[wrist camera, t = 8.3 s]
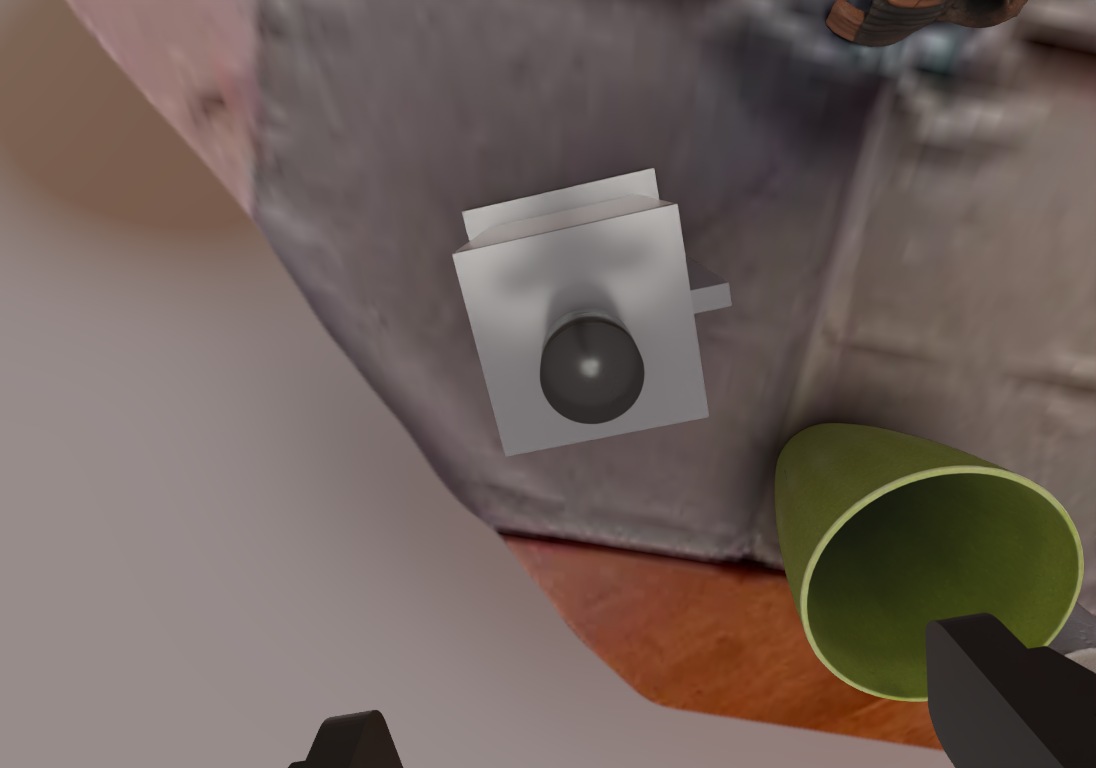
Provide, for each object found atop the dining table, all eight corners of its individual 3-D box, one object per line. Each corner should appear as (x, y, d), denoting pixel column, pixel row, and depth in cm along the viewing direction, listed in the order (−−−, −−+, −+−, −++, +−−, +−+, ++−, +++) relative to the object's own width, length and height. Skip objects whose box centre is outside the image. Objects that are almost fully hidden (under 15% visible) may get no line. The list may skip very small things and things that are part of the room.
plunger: (504, 243, 41) (463, 295, 23) (625, 216, 40) (680, 248, 22) (532, 358, 43) (514, 487, 25) (646, 335, 43) (710, 449, 25)
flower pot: (713, 395, 47) (787, 499, 32) (915, 353, 46) (1091, 441, 31) (739, 561, 52) (814, 720, 37) (923, 527, 51) (1080, 678, 35)
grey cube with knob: (464, 210, 43) (413, 229, 28) (665, 164, 42) (728, 157, 27) (508, 384, 47) (485, 486, 32) (693, 347, 46) (761, 433, 31)
